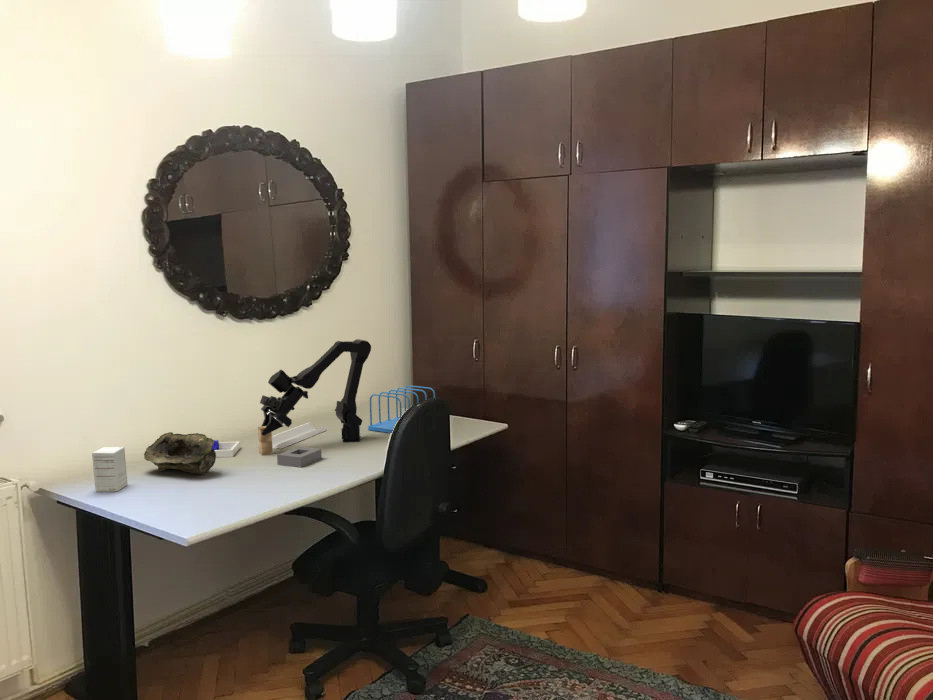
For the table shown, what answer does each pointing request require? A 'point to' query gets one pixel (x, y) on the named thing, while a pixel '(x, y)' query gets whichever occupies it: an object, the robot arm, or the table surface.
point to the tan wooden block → (265, 442)
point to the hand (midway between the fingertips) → (261, 434)
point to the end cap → (299, 456)
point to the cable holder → (216, 445)
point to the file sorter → (389, 424)
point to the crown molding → (294, 435)
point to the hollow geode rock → (182, 452)
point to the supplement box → (109, 469)
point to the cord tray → (227, 445)
